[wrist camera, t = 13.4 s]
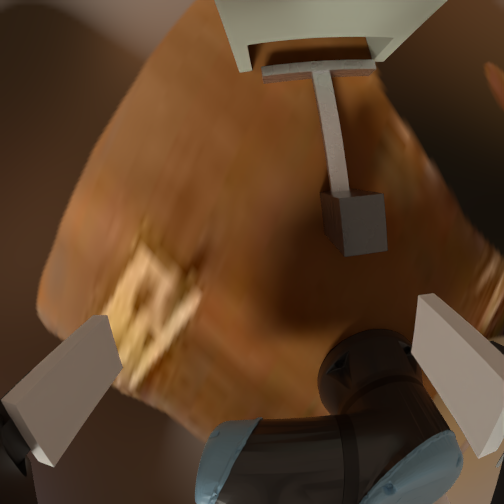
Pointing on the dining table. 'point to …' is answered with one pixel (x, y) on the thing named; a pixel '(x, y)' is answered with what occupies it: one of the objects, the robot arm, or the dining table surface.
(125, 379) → the dining table surface
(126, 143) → the dining table surface
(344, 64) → the scraper
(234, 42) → the cabinet
